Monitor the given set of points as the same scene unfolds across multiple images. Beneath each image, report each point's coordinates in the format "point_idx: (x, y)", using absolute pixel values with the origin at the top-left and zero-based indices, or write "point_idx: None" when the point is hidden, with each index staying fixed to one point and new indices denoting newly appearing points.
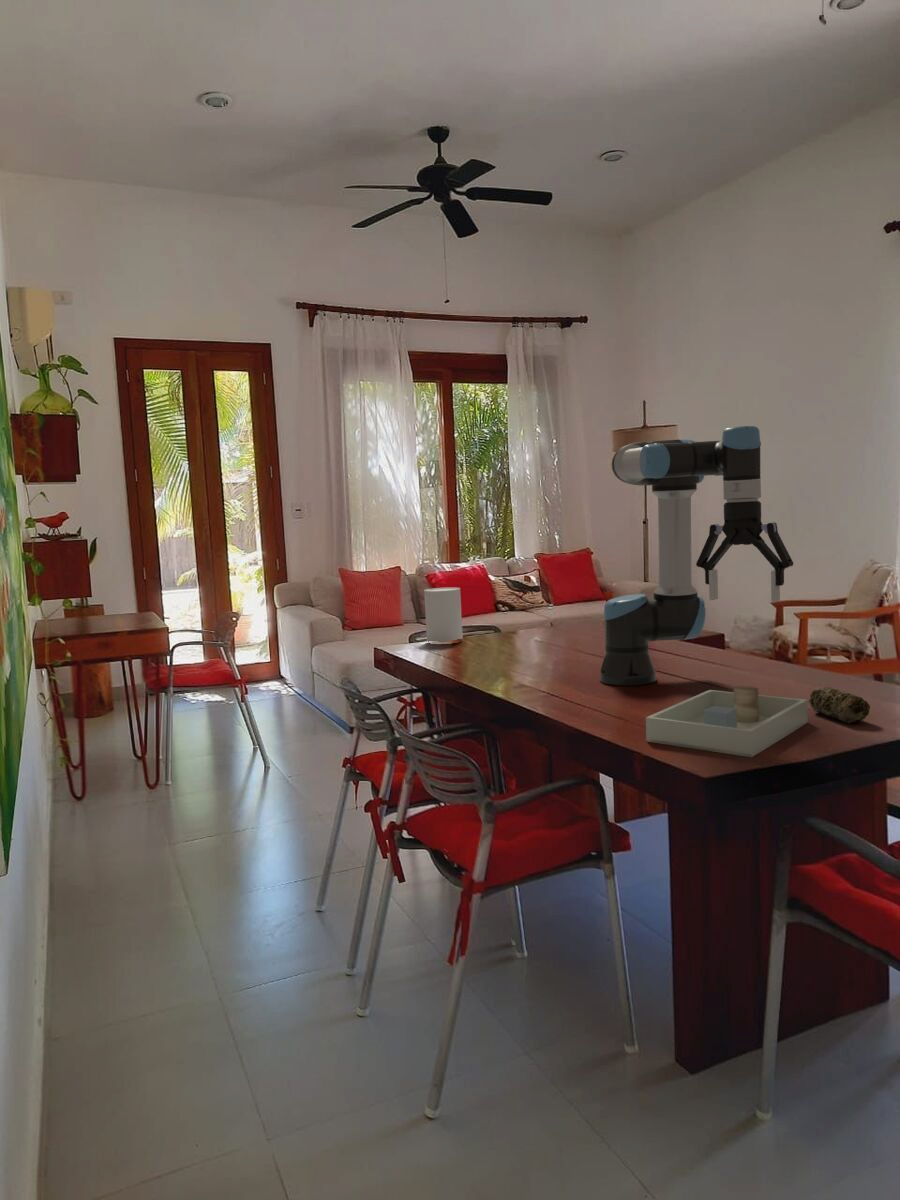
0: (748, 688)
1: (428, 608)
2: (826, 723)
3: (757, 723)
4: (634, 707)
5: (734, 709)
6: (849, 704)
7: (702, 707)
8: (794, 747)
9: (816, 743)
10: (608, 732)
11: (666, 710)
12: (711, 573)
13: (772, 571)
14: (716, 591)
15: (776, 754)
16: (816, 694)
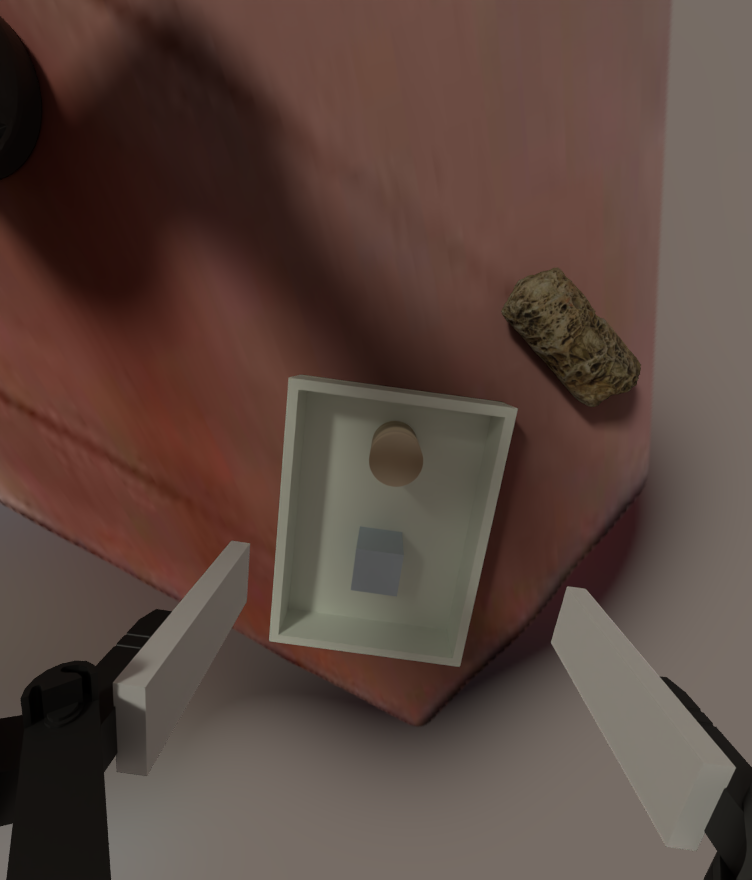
0: (401, 461)
1: None
2: (536, 393)
3: None
4: (148, 398)
5: (401, 563)
6: (603, 399)
7: (300, 433)
8: (502, 565)
9: (532, 532)
10: None
11: (280, 585)
12: (157, 746)
13: (675, 842)
14: (231, 584)
15: (482, 608)
16: (527, 325)
